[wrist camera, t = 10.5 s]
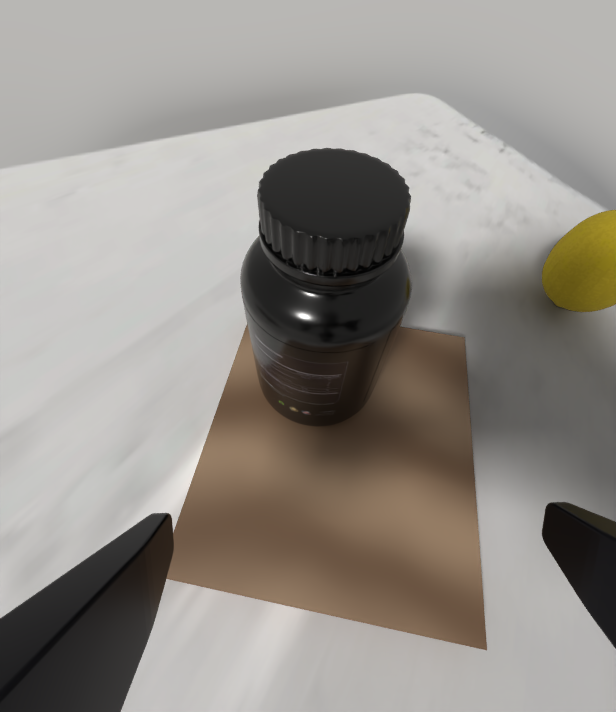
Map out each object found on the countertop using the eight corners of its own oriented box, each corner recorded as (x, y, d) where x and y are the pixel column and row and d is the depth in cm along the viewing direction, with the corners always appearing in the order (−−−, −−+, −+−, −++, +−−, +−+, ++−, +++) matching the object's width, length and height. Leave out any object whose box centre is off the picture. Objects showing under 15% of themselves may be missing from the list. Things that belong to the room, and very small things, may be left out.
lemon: (564, 273, 29) (647, 179, 22) (612, 325, 26) (724, 236, 19) (506, 284, 28) (574, 190, 21) (549, 340, 25) (644, 251, 18)
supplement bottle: (285, 317, 23) (280, 113, 13) (385, 350, 22) (464, 156, 12) (236, 405, 20) (180, 220, 10) (353, 450, 19) (426, 294, 9)
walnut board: (471, 644, 16) (486, 650, 14) (168, 577, 17) (157, 576, 15) (455, 350, 24) (464, 337, 23) (256, 316, 25) (254, 302, 24)
